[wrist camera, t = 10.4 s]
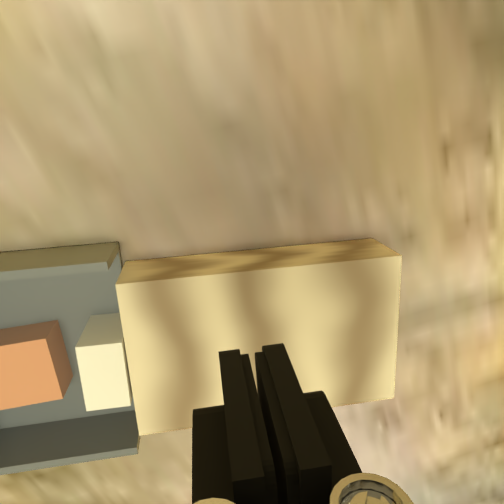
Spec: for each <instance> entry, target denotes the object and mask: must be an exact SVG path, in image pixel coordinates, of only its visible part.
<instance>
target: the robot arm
mask: <svg viewBox="0 0 504 504" xmlns="http://www.w3.org/2000/svg"><path fill="white" fill-rule="evenodd" d="M218 353H219V362H220V372H221V381H222V391H223V400H224V405H219V406H212V407H205V408H198V409H193V414H192V504H414V503H413V502H412V500H411V499H410V498H409V496H408V495H407V494H406V493H405V492H404V491H403V490H402V489H401V488H400V487H399V486H398V485H397V484H395V483H394V482H392V481H391V480H389V479H387V478H385V477H382V476H379V475H376V474H370V473H362V471H361V469H360V467H359V465H358V463H357V460H356V458H355V456H354V454H353V452H352V450H351V448H350V446H349V443H348V441H347V439H346V437H345V435H344V433H343V431H342V429H341V427H340V424H339V422H338V420H337V418H336V416H335V414H334V412H333V410H332V407H331V405H330V403H329V401H328V399H327V397H326V395H325V393H324V392H323V391H322V390H321V391H314V392H307V393H303V391H302V389H301V386H300V384H299V381H298V379H297V376H296V374H295V371H294V368H293V366H292V363H291V361H290V358H289V356H288V353H287V351H286V348H285V346H284V344H283V343H279V344H272V345H264V346H262V352H255V367H256V380H257V389H256V384H255V380H254V376H253V371H252V367H251V363H250V358H249V354H240V350H239V349H234V350H227V351H219V352H218ZM257 392H258V393H257Z"/></svg>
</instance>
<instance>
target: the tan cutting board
mask: <svg viewBox="0 0 504 504" xmlns="http://www.w3.org/2000/svg"><path fill="white" fill-rule="evenodd" d="M401 264H402V255H400V254H398V253H397V252H395V251H393V250H392V249H390V248H388V247H386V246H385V245H383V244H381V243H380V242H378V241H376V240H375V239H373V238H369V239H358V240H348V241H337V242H327V243H316V244H305V245H295V246H284V247H273V248H263V249H252V250H241V251H231V252H220V253H209V254H199V255H188V256H178V257H167V258H156V259H146V260H135V261H125V264H124V266H123V268H122V270H121V273H120V275H119V277H118V280H117V282H116V284H115V286H116V292H117V298H118V305H119V311H120V317H121V324H122V330H123V336H124V343H125V349H126V355H127V362H128V368H129V374H130V381H131V387H132V393H133V400H134V406H135V412H136V419H137V425H138V431H139V436H141V435H148V434H154V433H161V432H168V431H175V430H181V429H188V428H192V414H193V409H198V408H205V407H212V406H219V405H224V400H223V391H222V381H221V372H220V362H219V353H218V352H219V351H227V350H234V349H239V350H240V354H249V358H250V363H251V367H252V371H253V376H254V380H255V384H256V389H257V380H256V367H255V352H262V346H264V345H272V344H279V343H283V344H284V346H285V348H286V351H287V353H288V356H289V358H290V361H291V363H292V366H293V368H294V371H295V374H296V376H297V379H298V381H299V384H300V386H301V389H302V391H303V393H307V392H314V391H321V390H322V391H323V392H324V393H325V395H326V397H327V399H328V401H329V403H330V405H331V407H337V406H343V405H350V404H357V403H364V402H371V401H377V400H384V399H391V398H394V388H395V371H396V353H397V335H398V317H399V300H400V282H401ZM257 393H258V392H257Z"/></svg>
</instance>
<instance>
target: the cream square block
mask: <svg viewBox="0 0 504 504" xmlns="http://www.w3.org/2000/svg"><path fill="white" fill-rule="evenodd" d="M75 350H76V356H77V361H78V367H79V373H80V378H81V384H82V389H83V395H84V401H85V406H86V411H93V410H101V409H109V408H117V407H125V406H131V401H132V396H133V393H132V387H131V381H130V374H129V368H128V362H127V355H126V349H125V343H124V336H123V330H122V324H121V317H120V313H111V314H101V315H91V316H90V318H89V320H88V322H87V324H86V326H85V328H84V330H83V332H82V335H81V337H80V339H79V341H78V343H77V345H76V347H75Z"/></svg>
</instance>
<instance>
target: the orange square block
mask: <svg viewBox="0 0 504 504" xmlns="http://www.w3.org/2000/svg"><path fill="white" fill-rule="evenodd" d="M72 378H73V373H72V369H71V366H70V362H69V358H68V355H67V351H66V347H65V344H64V340H63V337H62V333H61V329H60V326H59V322H58V320H54V321H48V322H42V323H36V324H29V325H23V326H17V327H11V328H5V329H0V410H4V409H10V408H15V407H21V406H26V405H31V404H37V403H42V402H48V401H53V400H59V399H63V398H64V396H65V393H66V391H67V389H68V387H69V384H70V382H71V380H72Z"/></svg>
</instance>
